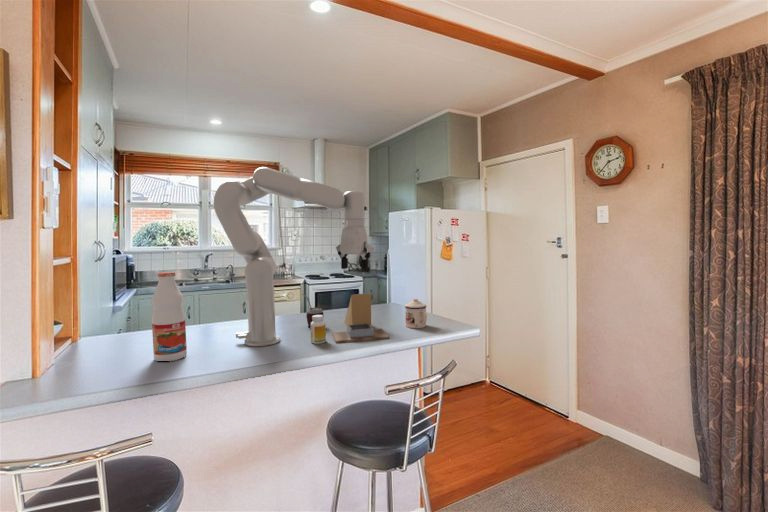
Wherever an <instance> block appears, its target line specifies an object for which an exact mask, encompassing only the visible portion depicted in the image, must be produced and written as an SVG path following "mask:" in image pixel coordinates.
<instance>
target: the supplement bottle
mask: <svg viewBox="0 0 768 512" xmlns="http://www.w3.org/2000/svg"><path fill="white" fill-rule="evenodd" d="M323 315H324V314H323ZM323 315H314V316H312V320H313V321H312V322H311V325H310V326H311V328H310V342H311V343H312V344H315V345H317V344H319V345H321V344H323V343H325V342H326V341H327V338H326V337H327V336H326V333H327V332H326V331H327V330H326V321H324V316H323Z"/></svg>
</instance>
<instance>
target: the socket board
mask: <svg viewBox="0 0 768 512" xmlns="http://www.w3.org/2000/svg"><path fill="white" fill-rule="evenodd" d="M331 334H332V335H331V336H332V337H333V339H334V342H335V344H342V343H352V342H353V343H354V342H364V341H365V342H366V340H367V341H377V340H376V339H379V340H387V339H386V338H389V339H390V336H389V335H388V333H386V332H385V330H383V328H373V326H372V324H371V325H370V324H369V323H365V324H352V325H346V331H333V332H331Z"/></svg>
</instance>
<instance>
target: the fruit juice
mask: <svg viewBox="0 0 768 512" xmlns="http://www.w3.org/2000/svg"><path fill="white" fill-rule="evenodd" d="M157 278H158V282H157V285H156V288H155V291H154V293H153V294H152V296H151V299H150V300H151V303H150V304H151V306H152V309H153V312H152V315H151V327H152V328H151V329H152V332H151V333H152V349H153V359H154V361H155V360H156V361H155V362H157V361H170V362H172V361H171V360H175V361H178V360H177V359H179V360H181V359H180V358H182V359H184V358H185V357H186V356H187V353H188V352H187V351H188V349H187V348H188V347H187V331H186V330H187V329H186V313H185V311H184V308H183V305H184V301H185V298H184V295H183V293H182V292H181V291H180V289H179V286H178V285H177V282H176V280H175V278H176V273H175V271H165V272H164V271H163V272H158V273H157ZM184 356H185V357H184ZM183 357H184V358H183Z"/></svg>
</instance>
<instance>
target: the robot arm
mask: <svg viewBox="0 0 768 512" xmlns="http://www.w3.org/2000/svg"><path fill="white" fill-rule="evenodd" d="M270 194H273V195H276V196H279V197H283V198H286V199H289V200H293V201H297V202H308V203H311V204H314V205H318V206H321V207H325V208H326V209H327V210H328V211H332V212H338V211H343V212H344V220H343V221H342V225H343V226H344V227H342V229H341V234H340V244H338V245H337V246H335V249H336V251H337V255H338V256H339V259H340V260H341V261H340V263H341V265H340V267H341V270H344V269H348V268H349V260H348V259H349V258H348V256H349V255H360V256H361V258H362V259H361V271H367V270H368V269H369V260H370V258H371V256H372V255H373V252H374V250H375V248H374V247H373V246H372V245H371V244H369V243H368V234H367V229H366V227H365V193H363V191H360V190H349V191H345V192H342V190H340V189H339V188H335V187H332V186H330V185H327V184H323V183H319V182H317V181H313V180H309V179H306V178H302V177H298V176H295V175H293V174H289V173H286V172H282V171H280V170H277V169H274V168H271V167H267V166H261V167H258V168H256V169H255V170H254V172H253V174H252V176H251V177H250V178H248V179H247V178H246V179H245V180H243V181H239V180H237V179H227V180H225V181H224V182H222V183H221V184H220V185H219V186H218V187H217V188H216V191H215V193H214V195H213V196H214V197H213V209H214V211H215V212H214V213H215V215H216V217H217V219H218V221H219V222H220V225H221V226H222V228H223V231H224V232H225V235H226V236H227V238H228V240H229V242H230V244H231V245H232V248H233V249H234V251H235V253H237V254H238V255H239V256H242V257H243V258H244V259H243V260H245V262H246V266H245V269H244V277H245V284H246V285H245V286H246V301H247V302H246V303H247V321H248V322H247V323H248V324H247V325H248V327H247V328H248V329H247V330H245V331H244V332H235V338H236V339H238V340H239V339H240V340H241V339H244V340H243V341H244V343H243V344H244V345H245V346H249V347H267V346H271V345H274V344H277V343H279V342H280V341H281V336H280V335H278V334H276V333H277V332H276V331H277V330H276V308H275V307H276V306H275V305H276V304H275V301H276V300H275V285H274V283H275V282H274V275H275V273H276V270H277V265H276V262H275V259H274V258H273V256H272V254H271V252H270V250H269V248H268V247H267V245H266V242H265V241H264V240H263V237H262V236H261V235H260V234H259V233H258V232H256V231H254V230H253V228H252V227H251V225H250V224H249V221H248V219H247V218H246V216H245V214H244V213H243V211H242V209H241V206H246V205H249V204H252V203H253V202H254V201H257V200H259V199H262V198H264V197H266V196H268V195H270Z"/></svg>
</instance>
